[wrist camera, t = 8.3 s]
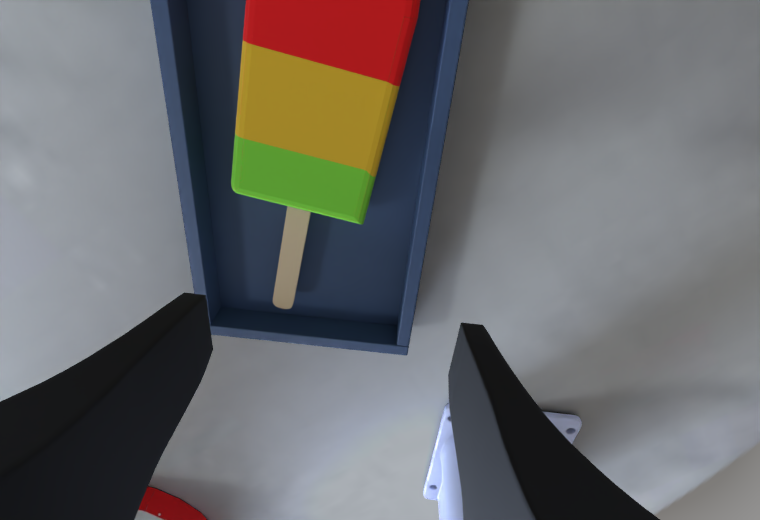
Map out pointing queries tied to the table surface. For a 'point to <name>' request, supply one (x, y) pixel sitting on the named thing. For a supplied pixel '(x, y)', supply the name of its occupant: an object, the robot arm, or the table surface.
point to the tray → (325, 234)
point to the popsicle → (316, 110)
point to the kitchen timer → (165, 507)
